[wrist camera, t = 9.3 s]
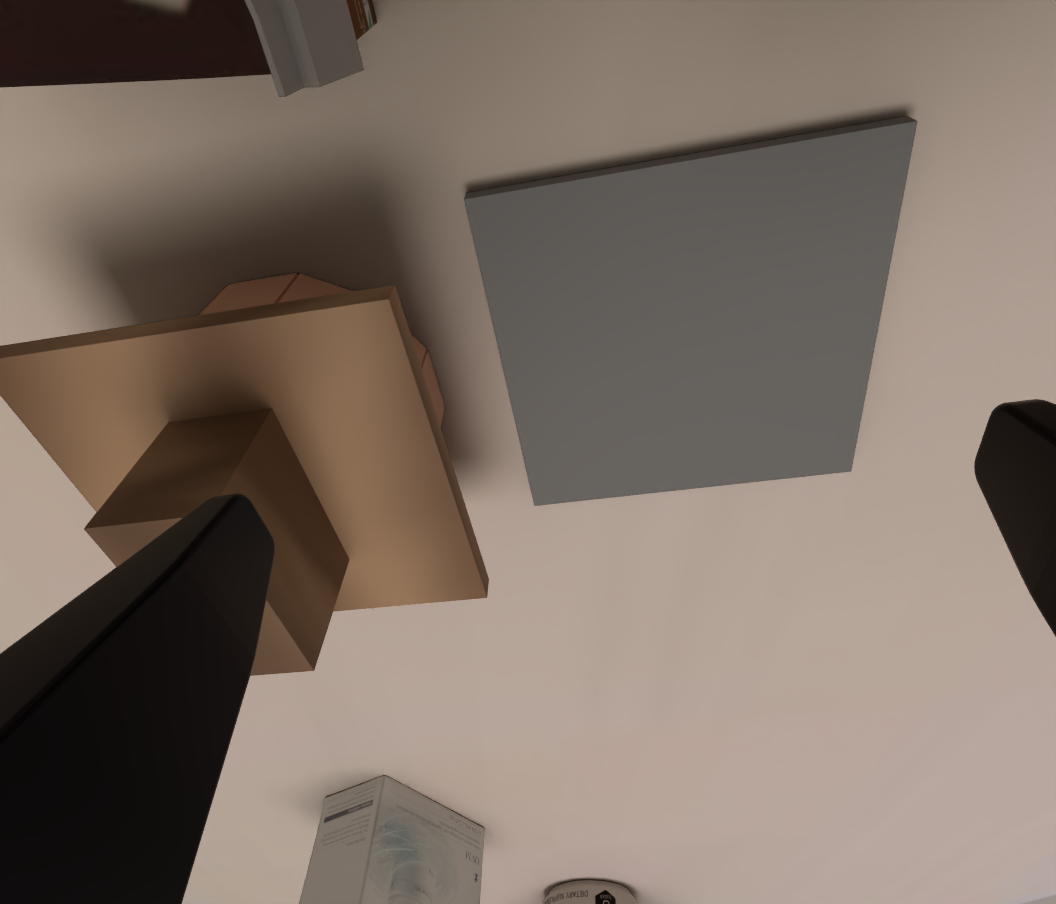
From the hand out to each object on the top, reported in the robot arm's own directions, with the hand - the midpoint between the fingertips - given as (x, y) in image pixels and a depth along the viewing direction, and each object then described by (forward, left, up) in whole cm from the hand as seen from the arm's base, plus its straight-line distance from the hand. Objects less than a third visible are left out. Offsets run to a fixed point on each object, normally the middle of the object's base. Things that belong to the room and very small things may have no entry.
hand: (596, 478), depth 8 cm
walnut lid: (+10, +6, -8) cm, 14 cm away
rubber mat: (-3, +6, -13) cm, 15 cm away
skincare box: (+17, +41, -13) cm, 46 cm away
